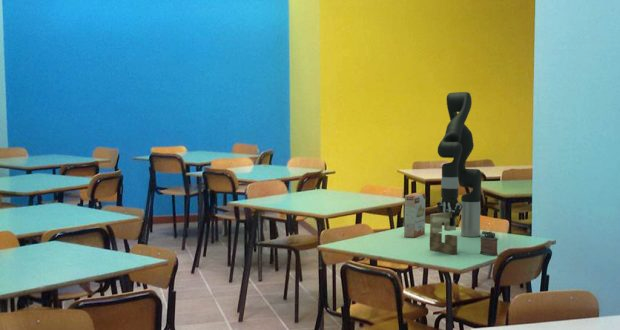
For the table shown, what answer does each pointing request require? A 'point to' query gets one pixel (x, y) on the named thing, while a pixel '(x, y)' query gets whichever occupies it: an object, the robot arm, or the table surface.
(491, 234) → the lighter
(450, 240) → the notched brown block
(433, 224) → the beech plate
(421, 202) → the cracker box
